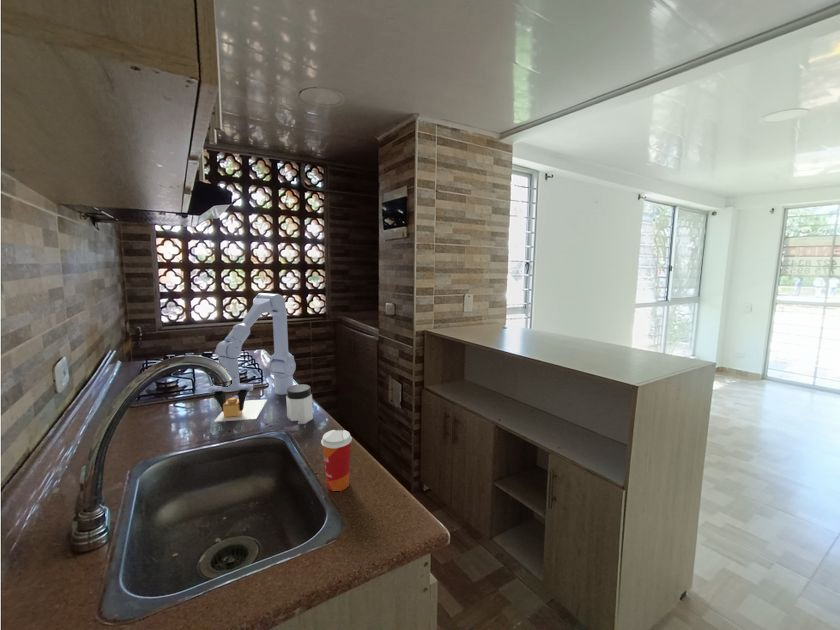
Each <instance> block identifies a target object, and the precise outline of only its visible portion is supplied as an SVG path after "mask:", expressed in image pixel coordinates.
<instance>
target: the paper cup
mask: <svg viewBox="0 0 840 630" xmlns="http://www.w3.org/2000/svg"><path fill="white" fill-rule="evenodd" d="M352 437H353V436H351V433H350V432H349V431H347V430H345V429H343V430H342V429H337V430H336V429H331V430H329V431H327V432H325V433H324V434H323V435H322V439H321V441H320V444H321V445H322V451H323V452H322V453H323V461H324V469H325V471H324V472H325V480H326V487H328V488H327V489H330V490H332V491H340V492H343V491H345V490H346V488H347V487H348V488H349V486H350V471H351V470H350V469H351V467H350V466H351V443H352V439H353V438H352ZM348 488H347V489H348ZM344 489H345V490H344ZM330 490H329V491H330ZM342 490H343V491H342ZM332 491H331V492H332Z"/></svg>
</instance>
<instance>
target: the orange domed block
mask: <svg viewBox="0 0 840 630" xmlns="http://www.w3.org/2000/svg"><path fill="white" fill-rule="evenodd" d="M241 412H242V411H240V408H239V398H237V397H234V396H233V397H230V398H227V399H226V402H225V403H224V404H223V413H224V417H229V416H239V415H240V413H241Z"/></svg>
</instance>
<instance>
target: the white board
mask: <svg viewBox="0 0 840 630" xmlns="http://www.w3.org/2000/svg"><path fill="white" fill-rule="evenodd" d="M267 401H268V399H252V400H249V399H248V400H245V401H244V408H243V410H242V412H241V413H240V415H239V416H229V417H224V413H223V412H222V411H221V412H220V413H219V414H218V416H217V417H216V418H215V419H214V420H213V422H214V423H218V422H228V421H230V422H231V421H244V420H245V421H246V420H257V419H258V417H259V415H260V413H261V412H262V410H263V408H264V406H265V405H266V403H267Z"/></svg>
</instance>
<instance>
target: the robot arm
mask: <svg viewBox="0 0 840 630" xmlns="http://www.w3.org/2000/svg"><path fill="white" fill-rule="evenodd" d="M252 303H253V304H252V306H251V308H250V309H249V310H248V312H247V314H245V315H246V316H245V317H244V318H243V320H242V322H241V323H237V324H234V325H233V327H232V329H231V331H229V333H228V334H227V336H226V337H225V338H224V340H221V341H220V342H218V344H217V345H216V348H215V349H214V353H215V355H216V356H217V357H218V361H219V364H220V363H221V364H222V365H223V366H224V367H225V368H226V369H227V370H228V372H229V373H230V375H231V377H232V384H231V385H230V386H228V387H222V386H217V385H211V386H209V387H208V388H207V389H208V390H207V391H208V394H213V393H214V395H213V397H214V398H215V400H216V401H217V402H218V404H219V406H220V409H221V412H223V404H224V403H225V402H226V400H227V399H226V397H227V394H226V393H228V392H229V393H230V392H238V393H237V397H238V398H237V399H239V408H240V411H242V410H243V408H244V401H246V398H247V395H248V392H252V391H253V390H254V384H253V383H251V384H250V383H240V382H241V381H240V380H241V379H240V370H239V358H238V357H239V356H240V355H241V353H242V347H243V344H244V342H245V341H246V340H247V339H248V337H249V336H250V334H251V327H253V325H254V324H255V323H256V322H257V320H258V319H259V318H260V317H261V316H262V315H263V314H267V313H269V314H270V315H271V316H272V330H273V348H274V349H273V350H274V353H273V354H272V355H271V356H270V360H269V364H268V369H269V371H270V372H271V373H272V375H273V383H274V393H275V395H278V396H279V395H281V396H283V395H287V388H289V387H290V386H293V385H294V376H293V375H294V373H296V372H295V371H296V369H297V368H296V367H297V366H296V365H297V364H296V361H295V356H294V355H292V353H290V352H289V337H288V336H289V335H288V314H287V313H288V311H287V307H286V298H285V296H283V295H281V294H279V293H264V292H259V293H258V294H257V295H256V296H255V298H254V299H253V300H252Z"/></svg>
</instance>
